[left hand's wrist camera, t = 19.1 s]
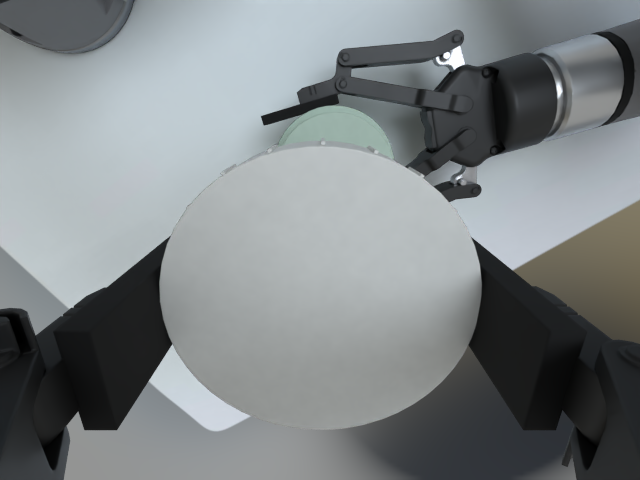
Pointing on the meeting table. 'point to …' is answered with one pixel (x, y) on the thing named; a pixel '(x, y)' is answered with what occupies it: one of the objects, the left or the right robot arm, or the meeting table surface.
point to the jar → (338, 129)
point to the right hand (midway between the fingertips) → (281, 171)
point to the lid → (320, 286)
